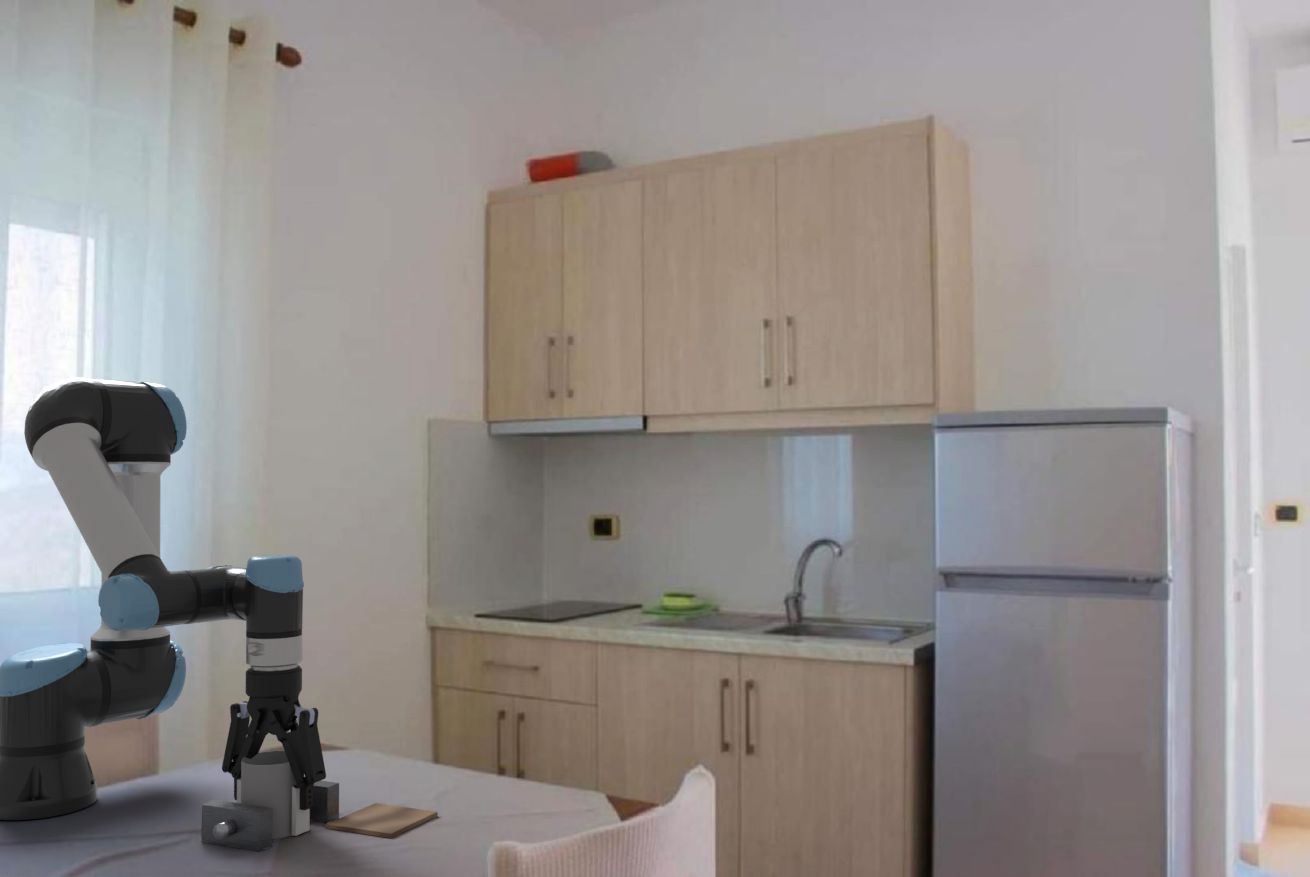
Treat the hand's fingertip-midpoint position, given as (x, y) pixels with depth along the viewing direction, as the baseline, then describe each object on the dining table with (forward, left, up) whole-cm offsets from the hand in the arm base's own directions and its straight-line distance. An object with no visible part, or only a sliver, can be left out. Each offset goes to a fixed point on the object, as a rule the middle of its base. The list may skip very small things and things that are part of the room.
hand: (272, 828), depth 157 cm
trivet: (+12, +9, 0) cm, 15 cm away
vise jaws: (0, 0, 0) cm, 0 cm away
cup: (0, 0, 0) cm, 1 cm away
